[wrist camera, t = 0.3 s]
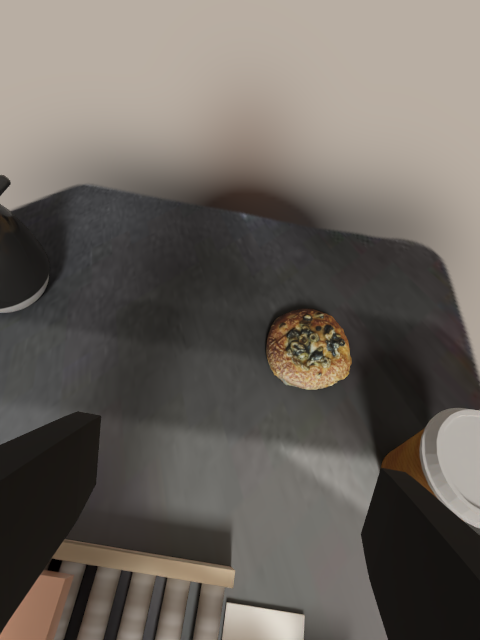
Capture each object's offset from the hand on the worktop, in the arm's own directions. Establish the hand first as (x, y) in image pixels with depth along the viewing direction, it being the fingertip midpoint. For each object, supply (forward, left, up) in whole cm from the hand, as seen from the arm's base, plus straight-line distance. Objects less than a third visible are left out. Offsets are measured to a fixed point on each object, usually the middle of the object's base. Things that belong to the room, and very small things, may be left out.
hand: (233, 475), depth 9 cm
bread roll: (+19, -10, -30) cm, 37 cm away
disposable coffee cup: (+6, -22, -30) cm, 38 cm away
